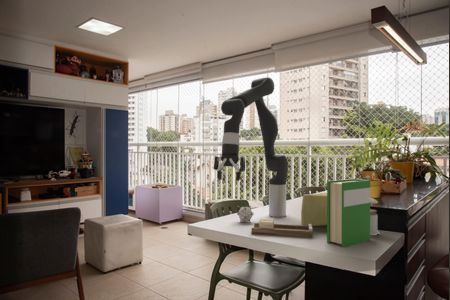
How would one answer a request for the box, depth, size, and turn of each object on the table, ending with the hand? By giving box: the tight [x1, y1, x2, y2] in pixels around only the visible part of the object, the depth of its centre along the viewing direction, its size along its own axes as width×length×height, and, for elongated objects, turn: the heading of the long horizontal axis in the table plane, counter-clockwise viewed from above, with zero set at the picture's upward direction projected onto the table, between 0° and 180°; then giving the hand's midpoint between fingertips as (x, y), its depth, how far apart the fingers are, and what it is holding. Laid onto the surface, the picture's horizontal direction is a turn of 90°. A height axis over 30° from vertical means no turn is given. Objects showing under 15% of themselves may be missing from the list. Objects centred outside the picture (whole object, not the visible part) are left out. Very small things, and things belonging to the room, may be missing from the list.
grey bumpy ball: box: [236, 205, 254, 223], centre depth 158 cm, size 9×8×10 cm
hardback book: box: [326, 178, 371, 248], centre depth 125 cm, size 18×7×24 cm, turn 125°
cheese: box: [300, 192, 327, 227], centre depth 153 cm, size 22×10×15 cm, turn 110°
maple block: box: [258, 218, 275, 229], centre depth 139 cm, size 6×6×4 cm
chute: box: [250, 222, 314, 238], centre depth 137 cm, size 10×25×4 cm, turn 78°
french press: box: [365, 175, 381, 236], centre depth 140 cm, size 10×12×25 cm
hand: (228, 180), depth 139 cm, fingers open, 8 cm apart
